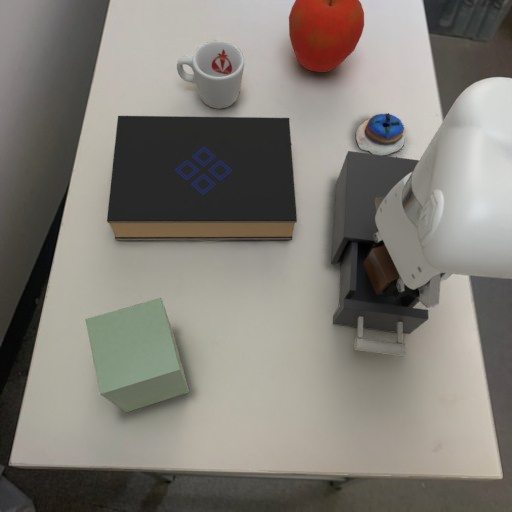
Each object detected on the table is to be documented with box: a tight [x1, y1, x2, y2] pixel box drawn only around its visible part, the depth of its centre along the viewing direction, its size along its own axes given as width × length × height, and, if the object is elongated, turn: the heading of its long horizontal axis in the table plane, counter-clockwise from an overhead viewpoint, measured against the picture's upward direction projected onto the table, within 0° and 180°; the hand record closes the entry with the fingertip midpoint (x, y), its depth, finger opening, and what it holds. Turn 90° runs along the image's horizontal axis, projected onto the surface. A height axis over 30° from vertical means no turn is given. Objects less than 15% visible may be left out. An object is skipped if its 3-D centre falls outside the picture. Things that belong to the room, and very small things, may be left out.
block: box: [363, 245, 399, 295], centre depth 60 cm, size 4×4×4 cm
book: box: [106, 115, 298, 241], centre depth 71 cm, size 17×25×7 cm
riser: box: [85, 297, 190, 413], centre depth 56 cm, size 8×8×14 cm
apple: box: [288, 0, 365, 73], centre depth 80 cm, size 12×12×14 cm
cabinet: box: [330, 150, 420, 266], centre depth 69 cm, size 14×12×9 cm
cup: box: [176, 40, 245, 109], centre depth 79 cm, size 11×8×8 cm
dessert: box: [355, 112, 406, 156], centre depth 80 cm, size 8×7×6 cm
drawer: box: [332, 240, 429, 357], centre depth 65 cm, size 17×10×7 cm, turn 173°
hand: (386, 273), depth 62 cm, fingers closed on block, 4 cm apart
